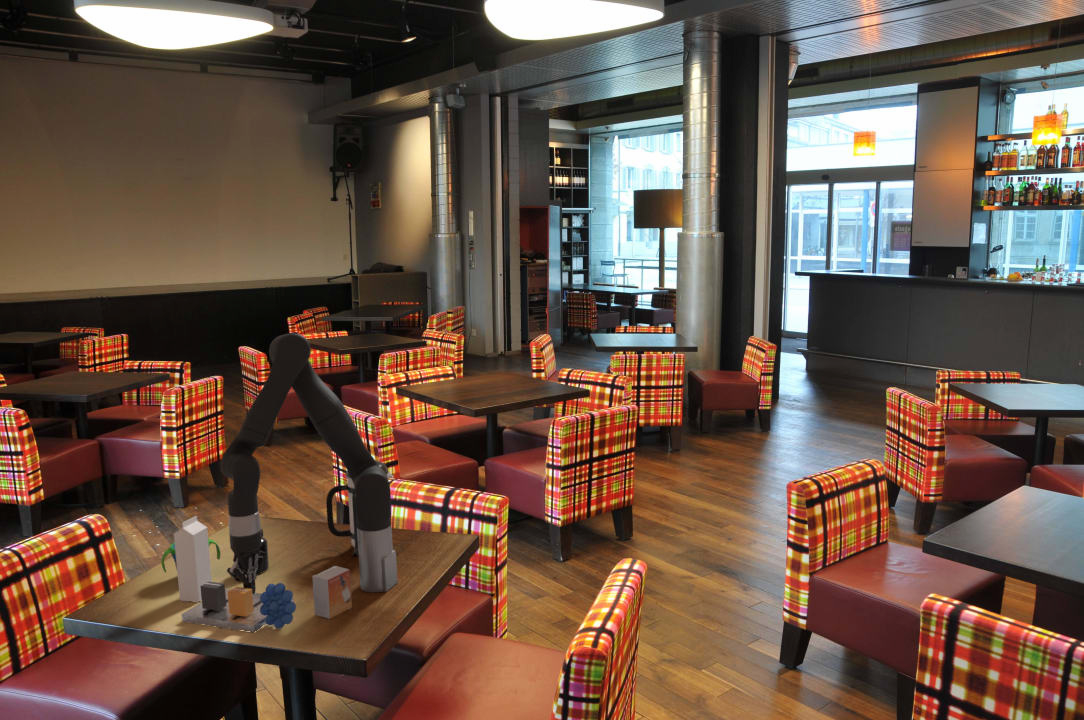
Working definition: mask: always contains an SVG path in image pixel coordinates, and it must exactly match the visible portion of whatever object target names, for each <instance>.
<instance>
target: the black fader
mask: <svg viewBox="0 0 1084 720" xmlns="http://www.w3.org/2000/svg"><path fill="white" fill-rule="evenodd" d="M225 585H226V584H225V583H223V582H215V581H212V582H207V583H205V584H203V585H202V586H200V587H201V598H202V601H201V602H202V608H203V609H209V610H216V611H219V610H221V609H222V608H224V607H226V606H227V605H226V594H225V589H226V586H225Z"/></svg>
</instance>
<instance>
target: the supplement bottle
mask: <svg viewBox="0 0 1084 720" xmlns="http://www.w3.org/2000/svg"><path fill="white" fill-rule="evenodd" d="M261 538H262V545H261V547H260V551H262V552H267V556H266V559H265V562H264V565H263V568H262V571H261V572H263V571H265V572H267V571H268V570H267V569H269V568H270V567H269V565H270V563H269V550H268V549H269V547H268V540H267V538H265V537H264V530H263V528H261ZM258 566H259V565H258ZM266 570H267V571H266ZM263 573H264V572H263Z"/></svg>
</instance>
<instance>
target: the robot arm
mask: <svg viewBox="0 0 1084 720" xmlns="http://www.w3.org/2000/svg"><path fill="white" fill-rule="evenodd" d="M311 347H312V346H311V344H310V342H309V340H308V339H307V338H306V337H305V336H304V335H302V334H299V333H296V332H293V333H292V332H291V333H285V334H281V335H278V336H277V337H275V338H274V339H273V340H271V342H270V345H269V349H268V354H269V355H268V356H269V358H270V361H271V362H272V366H271V370H270V372H269V375H268V376H267V379H266V381H265V383H264V385H263V386H262V388H261V390H260V391H259V393H258V395H257V396H256V398H255V399H254V401H253V403H252V405H250V407H249V410H248V412H247V413H246V416H245V418H244V420H243V423H242V426H241V427H240V430H239V432H238V433H237V435H236V436H235V438H234V439H233V440H232V442H230V444H229V446H228V448H226V450H225V451H224V453H223V456H222V458H221V461H220V471H221V473H222V474H223V476H225V477H226V478H228V479H230V480H233V481H232V482H233V487H232V490H231V491H230V492H229V493H228V495H227V508H228V509H227V510H228V533H229V545H230V548H229V549H230V550H231V551H232V552H233V559H232V561H233V564H232V566H231V567H228V568H227V569H226V572H227V573H228V575H230V576H231V578H233V579H234V581H235V582H236V583H241V584H243V586H242V588H249V589H252V595H254V594H255V593H256V580H257V576H260V575H261V574H262V573H261V571H262V568H263V565H264V562H265V559H266V556H267V552H262V551H260V547H261V545H262V538H261V529H262V527H261V517H260V512H259V503H258V501H259V500H258V491H259V487H260V486H259V485H260V479H261V468H260V463H259V460H258V459H257V458H256V457H255V456H253V454H254V453H255V451H256V450H257V449H258V448H260V447H264V446H265V445H266V444H267V441H268V439H269V437H270V434H271V432H272V430H273V427H274V425H275V423H276V421H277V418H278V417H279V414H280V411H281V409H282V407H283V404H284V402H285V400H286V398H287V396H288V395H289V392H290V390H291V388H292V390H293V392H294V393H295V395H296V396H297V399H298V401H299V402H300V404H301V406H302V407H303V410H304V411H305V414H306V415H307V417H308V418H309V419H310V421H311V423H312V425H313V426H314V428H315V430H316V431H317V432H318V435H319V436H320V437H321V439H322V440H323V441H324V442H325V444H327V446H328V447H329V449H331V450H332V451H333V452H334V453H335V454H336V455H337V457H338V458H339V459H340V461H341V462H342V463H343V465H344V467H345V468H346V471H348V473H349V475H350V477H351V479H352V481H353V484H354V488H355V499H356V521H357V537H358V550H357V551H358V554H359V556H358V569H359V582H360V583H359V584H360V585H359V586H360V589H361V590H362V591H364V592H367V593H379V592H380V593H381V592H388V591H389V590H390V589H392V588H393V587H394V586H395V585H397V584H398V570H397V569H398V567H397V551H396V550H395V549H393V530H392V498H391V497H392V495H391V485H390V480H389V479H388V477H387V475H386V473H385V472H384V470H383V469H382V468H381V467H380V466H379V464H378V463H377V462H376V461H377V460H376V459H375V458H374V457H373V455H372V454H371V452H370V451H369V450H368V448H367V447H366V445H365V443H364V442H363V439H362V437H361V434H360V432H359V430H358V428H357V426H356V425H355V422H354V421H353V419H352V416H351V415H350V414H349V412H348V410H347V408H346V407H345V406H344V404H343V402H342V401H341V400H340V398H339V397H338V396H337V395H336V393H334V392H333V390H332V389H331V388H330V387H329V386H328V385H327V384H326V383H325V382H324V381H323V380H322V379H321V377H320V376H319V375H318V374H317V373H316V370H314V368H313V366H312V364H311V362H310V360H309V359H310V357H311V352H312V350H311V349H312V348H311ZM375 460H376V461H375ZM258 565H259V566H258Z"/></svg>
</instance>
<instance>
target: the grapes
mask: <svg viewBox="0 0 1084 720" xmlns="http://www.w3.org/2000/svg"><path fill="white" fill-rule="evenodd" d="M292 598H294V593H293V591H292V590H289V589H286V585H285V584H284V583H283V582H279V583H276V584H274V583H269V584H267V586H266V588H265V591H264V592H262V593H261V596H260V601H261V603H263V605H262V606H261V608H260V613H261V614H262V615H265V616H266V615H267V616H266V619H265V622H266V623H267V625H268V626H272V625H273V626H274V628H275V629H279V630H281V629H283V628H284V626H285V625H289V624H291V623H292V622H293V619H294V616H293V614H294V613H295V612H296V609H297V605H296V603H295V601H294V602H291V600H292Z"/></svg>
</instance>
